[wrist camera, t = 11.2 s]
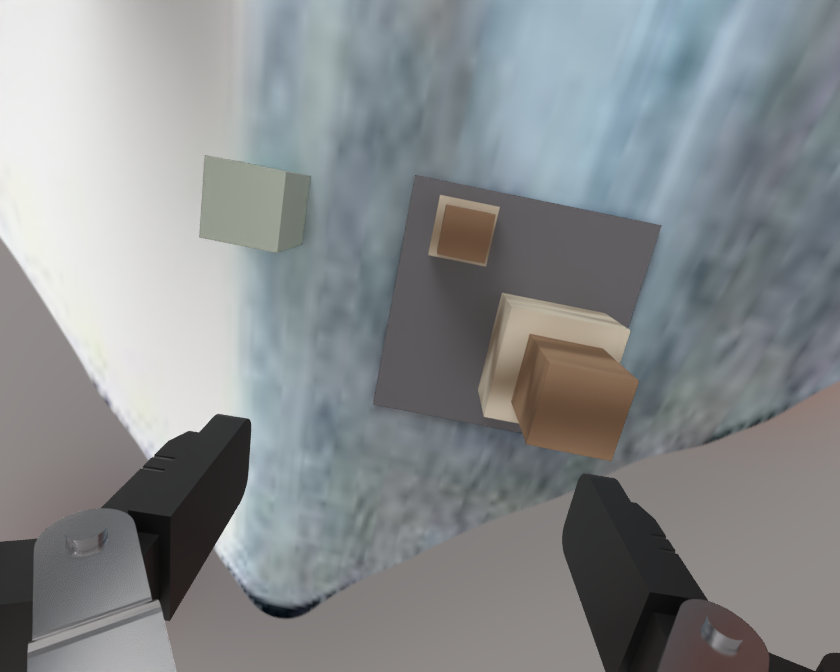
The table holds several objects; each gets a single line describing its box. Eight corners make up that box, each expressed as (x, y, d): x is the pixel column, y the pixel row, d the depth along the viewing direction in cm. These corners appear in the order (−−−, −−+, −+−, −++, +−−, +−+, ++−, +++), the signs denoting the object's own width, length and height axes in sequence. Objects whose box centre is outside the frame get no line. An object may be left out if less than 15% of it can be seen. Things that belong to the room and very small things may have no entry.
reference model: (440, 195, 35) (440, 194, 29) (494, 206, 35) (506, 208, 29) (428, 250, 36) (427, 260, 30) (482, 261, 36) (490, 273, 30)
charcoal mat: (415, 175, 35) (415, 175, 34) (657, 225, 35) (661, 225, 35) (374, 401, 40) (373, 404, 39) (587, 442, 40) (589, 446, 40)
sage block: (242, 162, 35) (204, 155, 29) (310, 176, 35) (286, 171, 30) (236, 231, 37) (199, 237, 31) (302, 244, 37) (276, 252, 31)
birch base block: (501, 292, 37) (511, 307, 32) (605, 313, 37) (630, 330, 32) (477, 389, 39) (483, 416, 34) (575, 408, 39) (595, 438, 34)
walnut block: (529, 333, 32) (549, 363, 26) (603, 348, 32) (639, 381, 27) (511, 401, 34) (526, 444, 28) (581, 415, 34) (611, 461, 28)
